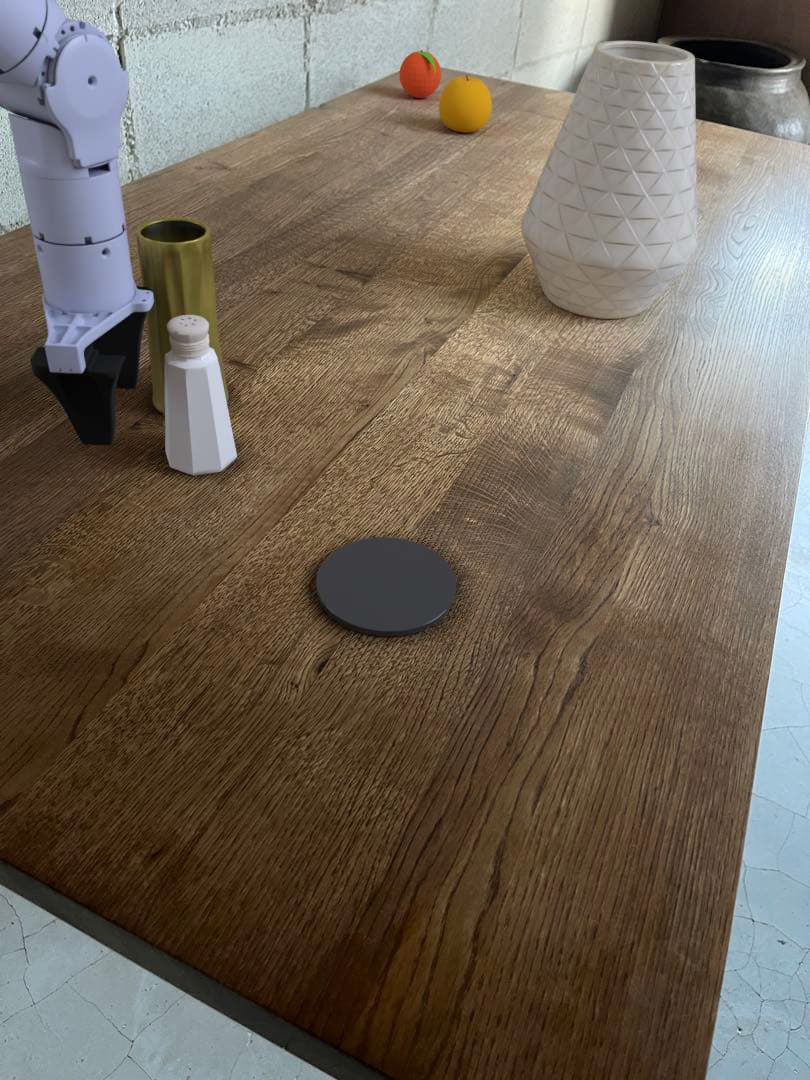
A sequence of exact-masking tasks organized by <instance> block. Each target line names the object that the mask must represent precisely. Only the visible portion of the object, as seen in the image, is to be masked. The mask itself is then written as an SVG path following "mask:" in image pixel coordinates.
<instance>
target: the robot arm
mask: <svg viewBox="0 0 810 1080" xmlns="http://www.w3.org/2000/svg"><path fill="white" fill-rule="evenodd" d="M118 57H119V56H118V55H117V53H116V52H115V50H114V48H113V46H112V44H111V42H110V40H108V38H107V37H106V36H105V34H104V33H103V32H102V31H101V30H99V29H98V28H97V27H96V26H94V25H92V24H90V23H87V22H85V21H81V20H76V19H71V18H69V17H66V16H65V14H64V12H63V10H62V8H61V7H60V5H59V4H58V3H57V0H0V108H2V109H3V110H5V111H7V112H9V113H8V114H7V116H8V122H9V127H10V132H11V136H12V140H13V146H14V150H15V156H16V160H17V161H16V162H17V165H18V170H19V175H20V181H21V185H22V191H23V195H24V200H25V204H26V205H25V206H26V209H27V216H28V219H29V225H30V229H31V235H32V239H33V244H34V249H35V255H36V259H37V265H38V270H39V274H40V279H41V286H42V290H43V294H42V295H41V301H42V307H43V311H44V316H45V317H44V318H45V322H46V323H45V324H46V327H47V338H46V341H45V342H44V344H43V345H44V346H38V347H36V349H35V350H34V352H33V354H32V356H31V357H30V359H29V362H30V367H31V370H32V373H33V375H34V377H36V378H37V379H38V380H39V381H40V382H41V383H43V385H44V386H46V388H47V389H48V390H49V391H50V392H51V393H52V395H54V397H55V398H56V400H57V401H58V403H59V404H60V405H61V407H62V409H63V411H64V413H65V414H66V416H67V418H68V420H69V421H70V424H71V425H72V428H73V430H74V431H75V434H76V435H77V437H78V439H79V440H80V442H81V444H82V445H87V446H89V445H90V446H112V445H113V442H114V440H115V434H116V426H117V425H116V420H117V419H116V417H117V416H116V397H117V389H119V390H120V389H122V390H123V389H124V390H136V387H137V385H138V380H139V373H140V359H141V348H142V347H141V345H142V338H143V332H144V331H143V330H144V325H145V323H146V314H147V311H149V310H150V309H151V308H152V305H153V303H154V297H153V292H152V290H151V289H149V288H147V287H143V285H142V286H139V285H137V284H136V281H135V280H134V276H133V269H132V261H131V253H130V246H129V245H130V244H129V239H128V232H127V223H126V216H125V209H124V201H123V194H122V187H121V180H120V179H121V178H120V172H119V163H118V157H119V154H120V153H119V149H120V148H122V140H121V132H120V125H121V119H122V116H123V113H124V111H125V110H126V109H125V108H126V107H127V102H128V98H129V93H130V92H129V91H130V71H129V70H126V69H124V68H123V67H122V65H121V63H120V59H119V58H118Z"/></svg>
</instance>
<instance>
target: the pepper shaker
mask: <svg viewBox="0 0 810 1080" xmlns="http://www.w3.org/2000/svg"><path fill="white" fill-rule="evenodd" d="M167 329H168V332H169V334H170V336H169V339H170V345H171V346H172V347H171V351H169V352H168V353H166V354H165V414H164V436H165V437H164V439H165V440H164V441H165V442H164V445H165V448H164V450H165V454H166V457H167V463H168V465H169V468H170V469H172V470H176V471H178V472H181V473H184V474H187V475H190V476H193V477H195V476H201V475H209V474H215V473H221V472H222V471H223V470H225V469H226V468H227V467H228V466H230V464H231V463H233V462H234V461H235V460H236V459H237V458H238V453H237V448H236V444H235V439H234V433H233V429H232V423H231V418H230V412H229V408H228V402H226V397H225V392H224V386H223V381H222V376H221V371H220V366H219V362H218V358H217V356H216V353H215V351H214V349H213V348H210V347H209V334H208V330H209V323H208V321H207V320H206V319H205V318H203V317H200V316H197V315H181V316H177V317H175V318H173V319H171V320H170V321H169V322H168V324H167Z"/></svg>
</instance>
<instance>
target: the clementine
mask: <svg viewBox="0 0 810 1080" xmlns="http://www.w3.org/2000/svg"><path fill="white" fill-rule="evenodd" d="M398 75H399V77H398V78H399V82H400V85H401V87H402V88H403V90H404V92H405V93H406V94H408V96H410V97H413V98H415V99H424V98H428V97H430V96H431V95H433V94H434V93H436V91H437V89H438V88H439V86H440V85H441V84H440V83H441V79H442V69H441V65H440V63H439V61H438V59H437V58H436V57H435V56H434V55H433V54H432V53H430V52H428V51H424V50H423V49H421V50H420V51H419V50H418V51H414V52H413V51H412V52H411V53H409V54H408V55H407V56H406V57H405V58H404V60H403V61H402V62H401V65H400V68H399V72H398Z"/></svg>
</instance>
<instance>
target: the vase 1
mask: <svg viewBox="0 0 810 1080" xmlns="http://www.w3.org/2000/svg"><path fill="white" fill-rule="evenodd" d="M212 241H213V240H212V233H211V229H210V227H209V226H208V225H207V224H206V223H204V222H203V221H201V220H197V219H194V218H189V217H182V216H165V217H157V218H154V219H150V220H148V221H147V220H146V221H145V222H143V223H142V224H140V225H139V226H138V227H137V228H136V244H137V253H138V259H139V266H140V274H141V284H142V287H147V288H149V289H151V290H152V292H153V297H154V303H153V305H152V308H151V309H150V310H149V311H147V314H146V318H145V324H146V336H147V344H148V345H147V347H148V356H149V366H150V367H149V368H150V374H151V383H152V405H153V406H154V408H155V409H156V410H157V411H158V412H159V413H161V414H162V415H165V354H166V353H168V352H169V351H171V347H172V346H171V345H170V339H169V336H170V334H169V332H168V329H167V324H168V322H169V321H170V320H171V319H173V318H175V317H177V316H181V315H197V316H200V317H203V318H205V319H206V320H207V321H208V323H209V330H208V334H209V347H210V348H213V349H214V351H215V353H216V356H217V358H218V362H219V366H220V371H221V376H222V381H223V386H224V392H225V397H226V402H227V403H228V402H229V397H230V395H229V389H228V386H227V379H226V375H225V368H224V362H223V356H222V350H221V342H220V333H219V326H218V316H217V315H218V313H217V297H216V296H217V295H216V284H215V282H216V281H215V272H214V259H213V258H214V257H213V256H214V255H213V242H212Z"/></svg>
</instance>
